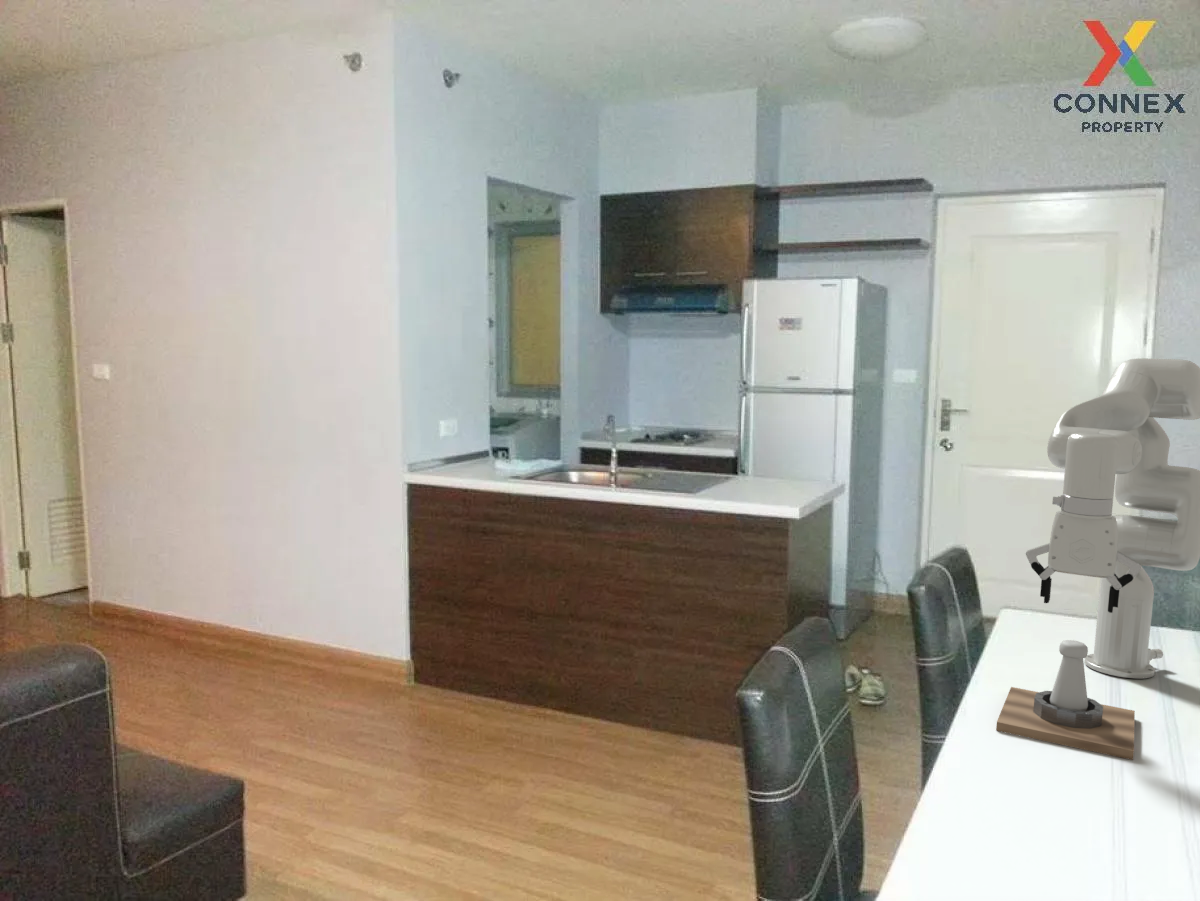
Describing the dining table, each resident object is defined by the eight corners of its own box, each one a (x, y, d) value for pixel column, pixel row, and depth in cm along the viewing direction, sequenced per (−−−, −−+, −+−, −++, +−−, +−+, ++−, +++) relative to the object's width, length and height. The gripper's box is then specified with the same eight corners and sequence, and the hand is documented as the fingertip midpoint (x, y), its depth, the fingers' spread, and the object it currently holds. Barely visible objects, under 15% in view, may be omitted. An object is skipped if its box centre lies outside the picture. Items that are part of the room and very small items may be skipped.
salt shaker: (1090, 724, 156) (1097, 649, 155) (1053, 720, 158) (1060, 645, 156) (1080, 711, 162) (1087, 638, 161) (1045, 707, 163) (1051, 635, 162)
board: (1010, 694, 173) (1011, 686, 173) (1133, 718, 164) (1134, 710, 163) (996, 730, 156) (996, 721, 156) (1133, 760, 146) (1133, 751, 146)
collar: (1036, 700, 167) (1038, 686, 167) (1102, 713, 162) (1104, 699, 161) (1031, 719, 158) (1032, 704, 158) (1100, 733, 153) (1101, 718, 152)
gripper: (1027, 504, 157) (1020, 603, 159) (1146, 516, 148) (1136, 620, 151) (1032, 498, 163) (1024, 593, 166) (1146, 509, 155) (1136, 609, 157)
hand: (1078, 606), depth 158 cm, fingers open, 9 cm apart
